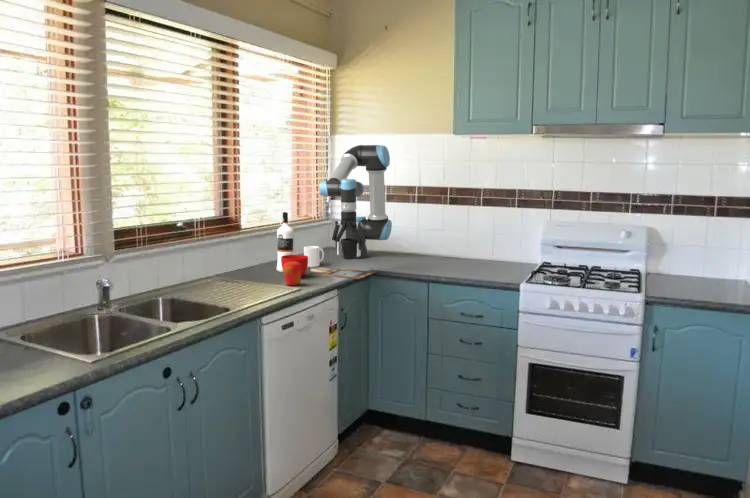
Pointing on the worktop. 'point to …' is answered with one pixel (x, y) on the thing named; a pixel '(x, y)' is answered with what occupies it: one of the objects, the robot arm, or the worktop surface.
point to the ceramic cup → (297, 258)
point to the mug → (349, 248)
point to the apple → (292, 272)
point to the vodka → (284, 241)
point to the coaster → (320, 270)
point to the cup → (313, 255)
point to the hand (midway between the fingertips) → (348, 255)
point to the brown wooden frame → (348, 274)
